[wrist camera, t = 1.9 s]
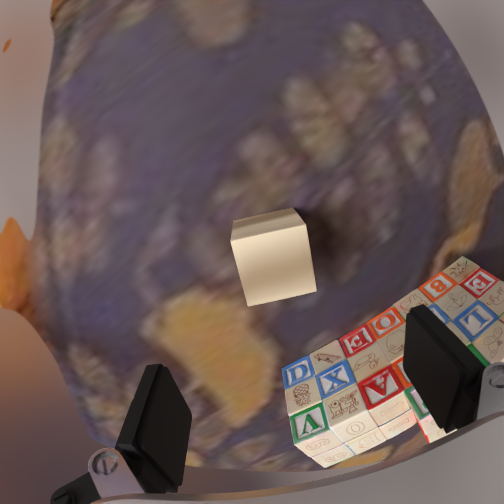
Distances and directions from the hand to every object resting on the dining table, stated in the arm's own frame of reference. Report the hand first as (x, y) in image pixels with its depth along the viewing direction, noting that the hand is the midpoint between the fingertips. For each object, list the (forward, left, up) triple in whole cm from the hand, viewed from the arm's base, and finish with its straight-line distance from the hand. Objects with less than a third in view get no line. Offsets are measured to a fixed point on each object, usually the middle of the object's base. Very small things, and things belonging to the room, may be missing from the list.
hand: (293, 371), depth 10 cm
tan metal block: (-1, 0, -14) cm, 14 cm away
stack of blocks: (+11, +10, -14) cm, 20 cm away
